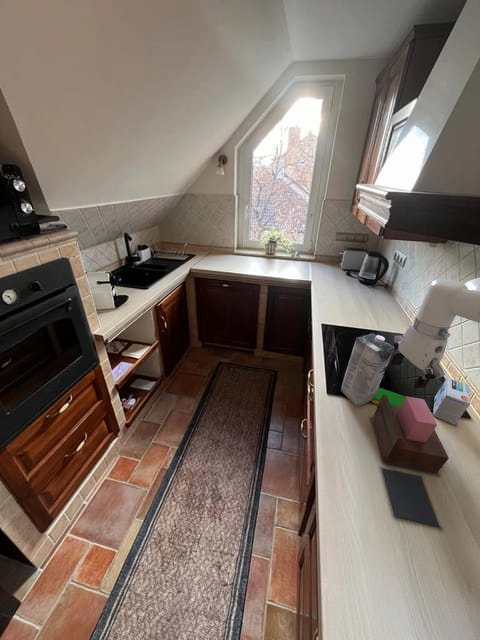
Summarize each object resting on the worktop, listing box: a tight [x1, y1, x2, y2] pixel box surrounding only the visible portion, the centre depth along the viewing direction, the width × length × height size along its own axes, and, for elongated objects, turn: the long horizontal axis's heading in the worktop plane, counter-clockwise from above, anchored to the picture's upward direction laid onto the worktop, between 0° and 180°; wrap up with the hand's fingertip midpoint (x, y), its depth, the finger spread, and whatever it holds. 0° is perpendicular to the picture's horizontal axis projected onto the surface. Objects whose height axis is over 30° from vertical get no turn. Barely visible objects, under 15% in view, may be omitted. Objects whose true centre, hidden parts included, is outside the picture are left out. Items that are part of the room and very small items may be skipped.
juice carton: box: [340, 332, 395, 407], centre depth 90 cm, size 9×10×27 cm
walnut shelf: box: [371, 394, 450, 475], centre depth 77 cm, size 14×16×12 cm
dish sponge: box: [370, 386, 406, 407], centre depth 94 cm, size 7×14×2 cm, turn 60°
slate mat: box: [382, 468, 440, 528], centre depth 67 cm, size 10×12×1 cm
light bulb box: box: [432, 377, 472, 425], centre depth 89 cm, size 11×7×11 cm, turn 144°
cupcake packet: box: [397, 395, 438, 443], centre depth 74 cm, size 5×9×8 cm, turn 168°
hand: (406, 375), depth 75 cm, fingers open, 9 cm apart
